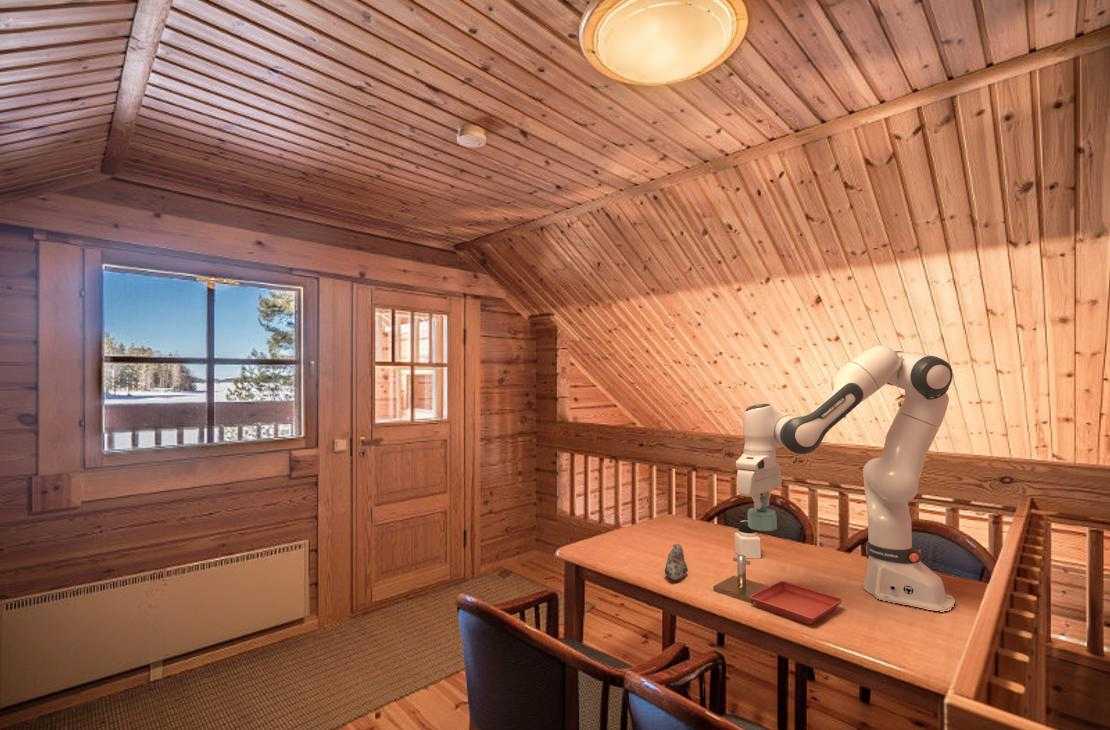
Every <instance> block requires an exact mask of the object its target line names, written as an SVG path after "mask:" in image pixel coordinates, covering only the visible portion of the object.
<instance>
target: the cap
mask: <svg viewBox="0 0 1110 730" xmlns="http://www.w3.org/2000/svg"><path fill="white" fill-rule="evenodd" d="M760 496H761V497H760V501H761V502H762V508H760V509H756V508H754V507H752V508H748V510H747V521H748V526H749V527H750V528H751V529H754V530H756V531H759V532H772V531H775V530H777V529H778V524H777V523H778V520H777V519H778V518H777V514H776V510H774V509H773V508H772V509H771V508H768V506H767V502H766V497H765V496H763V495H760Z"/></svg>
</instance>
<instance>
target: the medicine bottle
mask: <svg viewBox="0 0 1110 730" xmlns="http://www.w3.org/2000/svg"><path fill="white" fill-rule="evenodd" d="M737 528H738V529H737V530H738V532H734V552H735V554H736V555H744V556H746V560H747V559H755V560H756V559H762V549H761V548H762V546H761V545H762V541H761V538H760V537H759V536H758V535H757V530H754V529H751V528H750V527H749V526H748V520H740V521H739V522H738V527H737Z"/></svg>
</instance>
